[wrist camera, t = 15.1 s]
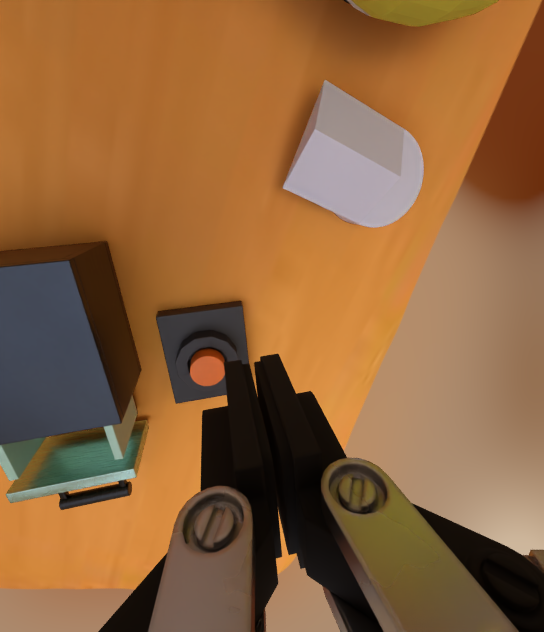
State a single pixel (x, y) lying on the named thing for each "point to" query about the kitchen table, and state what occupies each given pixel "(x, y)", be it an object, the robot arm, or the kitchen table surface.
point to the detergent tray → (77, 463)
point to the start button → (207, 367)
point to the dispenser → (62, 342)
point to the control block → (201, 344)
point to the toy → (419, 10)
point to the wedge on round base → (356, 162)
